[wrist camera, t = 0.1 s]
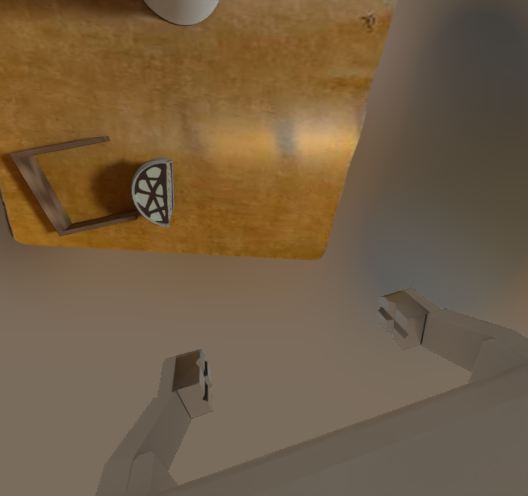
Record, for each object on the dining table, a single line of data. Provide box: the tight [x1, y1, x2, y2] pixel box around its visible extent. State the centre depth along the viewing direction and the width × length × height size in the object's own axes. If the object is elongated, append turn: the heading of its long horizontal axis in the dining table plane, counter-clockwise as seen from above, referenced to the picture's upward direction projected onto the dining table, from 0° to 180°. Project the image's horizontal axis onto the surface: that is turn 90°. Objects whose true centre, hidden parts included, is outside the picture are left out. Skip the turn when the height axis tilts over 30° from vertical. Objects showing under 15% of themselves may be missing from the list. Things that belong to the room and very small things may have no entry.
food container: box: [131, 158, 174, 227], centre depth 47 cm, size 12×6×10 cm, turn 173°
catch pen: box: [10, 136, 140, 236], centre depth 47 cm, size 15×14×4 cm
